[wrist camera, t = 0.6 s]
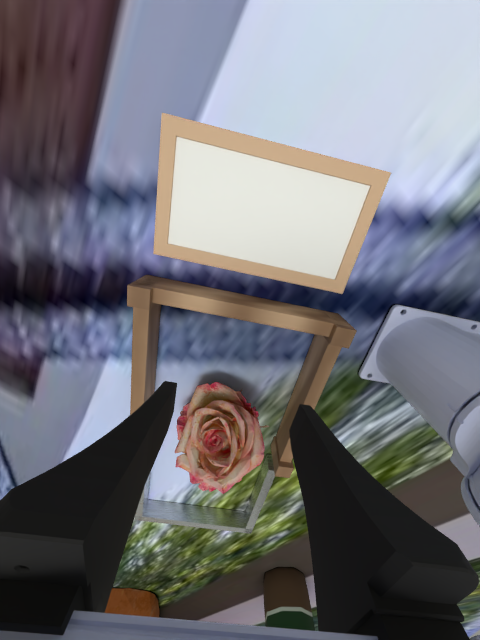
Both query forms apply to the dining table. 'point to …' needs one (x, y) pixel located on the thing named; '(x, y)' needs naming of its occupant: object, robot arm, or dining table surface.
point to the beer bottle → (287, 600)
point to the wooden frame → (323, 324)
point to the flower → (218, 437)
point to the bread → (132, 602)
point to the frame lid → (261, 205)
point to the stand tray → (209, 508)
